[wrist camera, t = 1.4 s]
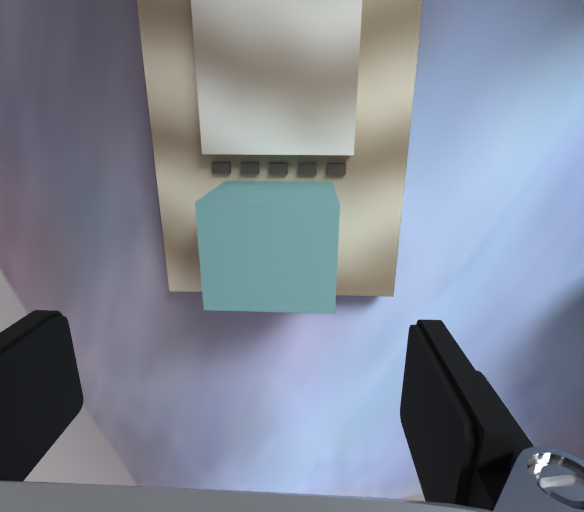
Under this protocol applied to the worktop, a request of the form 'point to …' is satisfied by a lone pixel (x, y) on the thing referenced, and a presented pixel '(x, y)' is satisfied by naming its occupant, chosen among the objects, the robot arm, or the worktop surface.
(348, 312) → the worktop surface
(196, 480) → the worktop surface
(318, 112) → the ticket board
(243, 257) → the block
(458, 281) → the worktop surface
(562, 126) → the worktop surface
